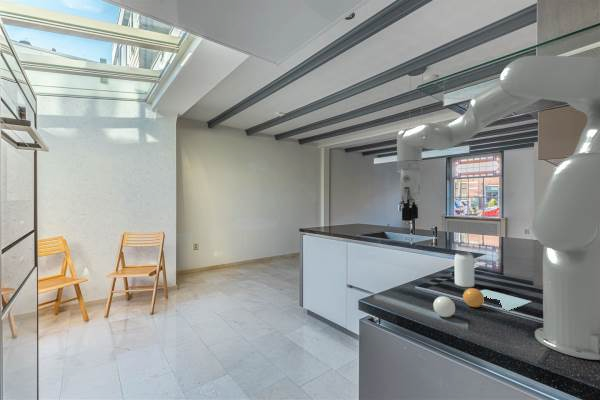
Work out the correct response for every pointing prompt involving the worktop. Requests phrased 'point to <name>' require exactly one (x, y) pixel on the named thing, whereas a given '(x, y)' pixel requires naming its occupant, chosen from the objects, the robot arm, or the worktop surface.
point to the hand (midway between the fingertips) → (410, 219)
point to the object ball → (473, 297)
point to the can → (464, 269)
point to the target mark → (505, 299)
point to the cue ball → (444, 306)
